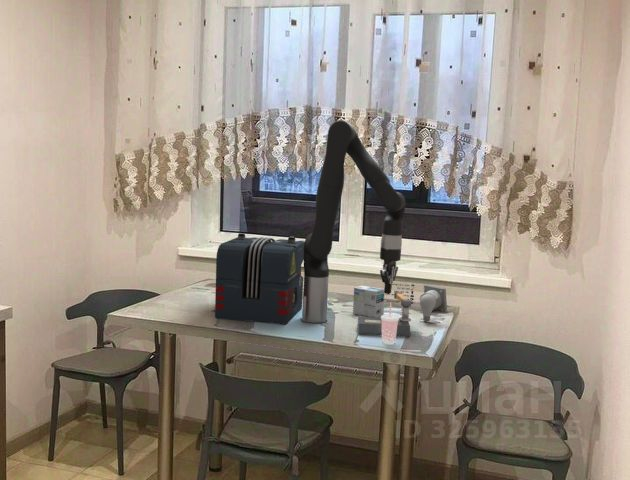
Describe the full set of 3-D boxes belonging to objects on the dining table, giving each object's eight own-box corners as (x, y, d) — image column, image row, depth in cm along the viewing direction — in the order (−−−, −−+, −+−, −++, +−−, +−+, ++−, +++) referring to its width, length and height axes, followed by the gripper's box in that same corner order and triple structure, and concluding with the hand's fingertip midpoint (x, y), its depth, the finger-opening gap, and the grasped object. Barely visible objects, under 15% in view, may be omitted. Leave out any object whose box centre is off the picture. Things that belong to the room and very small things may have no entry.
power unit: (286, 325, 247) (289, 244, 243) (214, 318, 252) (216, 239, 248) (302, 308, 274) (305, 235, 270) (237, 302, 279) (239, 230, 275)
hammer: (393, 298, 257) (393, 291, 256) (402, 298, 257) (402, 292, 257) (402, 307, 242) (402, 300, 242) (412, 307, 243) (412, 300, 242)
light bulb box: (383, 315, 268) (385, 288, 266) (375, 318, 262) (377, 291, 261) (360, 310, 274) (362, 284, 272) (352, 313, 268) (353, 287, 267)
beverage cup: (396, 345, 227) (399, 305, 225) (378, 344, 228) (381, 303, 226) (397, 340, 233) (400, 301, 231) (380, 339, 234) (382, 299, 232)
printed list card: (446, 308, 285) (448, 285, 284) (447, 314, 274) (449, 290, 272) (383, 303, 289) (384, 280, 287) (381, 309, 278) (383, 285, 276)
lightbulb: (426, 324, 255) (428, 296, 254) (415, 321, 260) (416, 293, 259) (437, 323, 259) (439, 295, 258) (426, 319, 264) (428, 291, 262)
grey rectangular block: (358, 334, 238) (359, 308, 237) (357, 327, 248) (358, 302, 247) (412, 337, 238) (413, 311, 237) (409, 329, 248) (410, 304, 247)
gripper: (387, 243, 253) (384, 289, 256) (374, 247, 242) (371, 294, 244) (406, 246, 250) (403, 291, 252) (394, 250, 238) (390, 297, 241)
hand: (387, 293), depth 248 cm, fingers closed
